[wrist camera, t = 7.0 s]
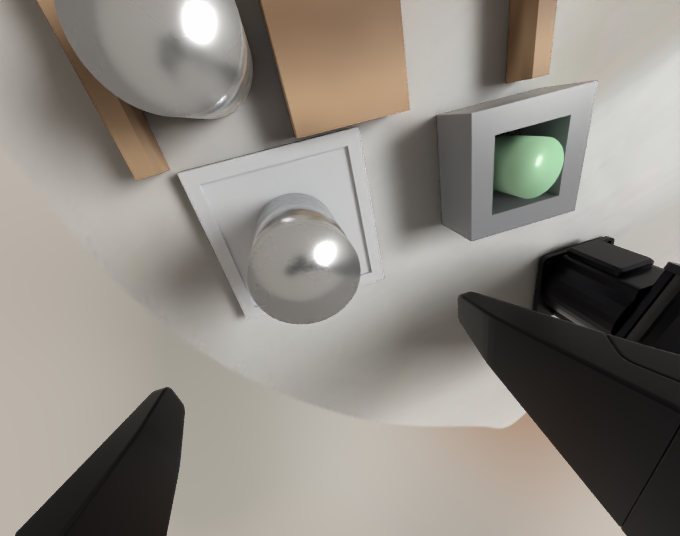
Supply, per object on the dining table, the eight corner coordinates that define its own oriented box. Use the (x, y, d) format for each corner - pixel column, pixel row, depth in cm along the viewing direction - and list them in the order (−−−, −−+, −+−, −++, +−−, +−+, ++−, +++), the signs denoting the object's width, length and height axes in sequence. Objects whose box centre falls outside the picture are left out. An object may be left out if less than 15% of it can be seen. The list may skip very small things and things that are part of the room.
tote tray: (380, 273, 21) (384, 278, 21) (248, 313, 21) (247, 320, 20) (355, 126, 17) (358, 126, 16) (181, 171, 16) (177, 173, 15)
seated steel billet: (267, 106, 15) (264, 97, 10) (172, 129, 15) (117, 133, 10) (229, -19, 13) (200, -116, 8) (116, 5, 13) (2, -81, 7)
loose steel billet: (343, 256, 19) (368, 306, 14) (270, 278, 19) (269, 336, 14) (325, 183, 17) (348, 209, 12) (242, 205, 17) (228, 243, 11)
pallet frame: (521, 79, 17) (548, 74, 16) (151, 174, 16) (135, 180, 14) (539, -171, 13) (581, -218, 11) (21, -77, 11) (-27, -114, 9)
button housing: (530, 197, 21) (574, 210, 18) (441, 223, 21) (471, 241, 18) (542, 87, 18) (597, 80, 15) (436, 115, 17) (471, 113, 14)
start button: (519, 181, 19) (559, 190, 17) (475, 193, 19) (508, 205, 16) (524, 129, 18) (568, 129, 15) (476, 141, 17) (512, 145, 15)
